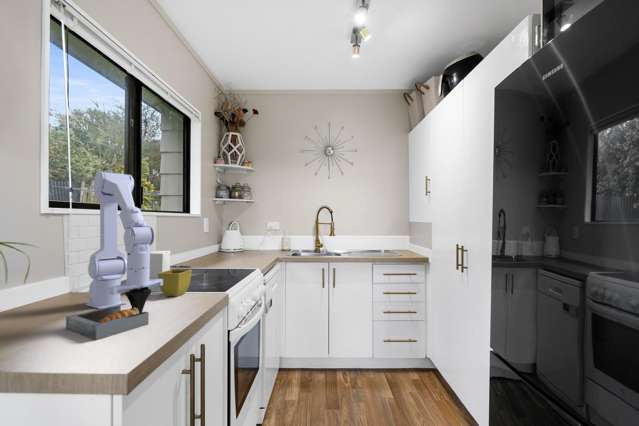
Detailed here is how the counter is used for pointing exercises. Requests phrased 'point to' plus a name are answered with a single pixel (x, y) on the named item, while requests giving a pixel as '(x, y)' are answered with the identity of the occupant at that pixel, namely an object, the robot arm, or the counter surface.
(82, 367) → the counter surface
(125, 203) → the robot arm
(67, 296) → the counter surface
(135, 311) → the pastry
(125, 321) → the grey tray
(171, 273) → the flower pot
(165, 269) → the skincare box
